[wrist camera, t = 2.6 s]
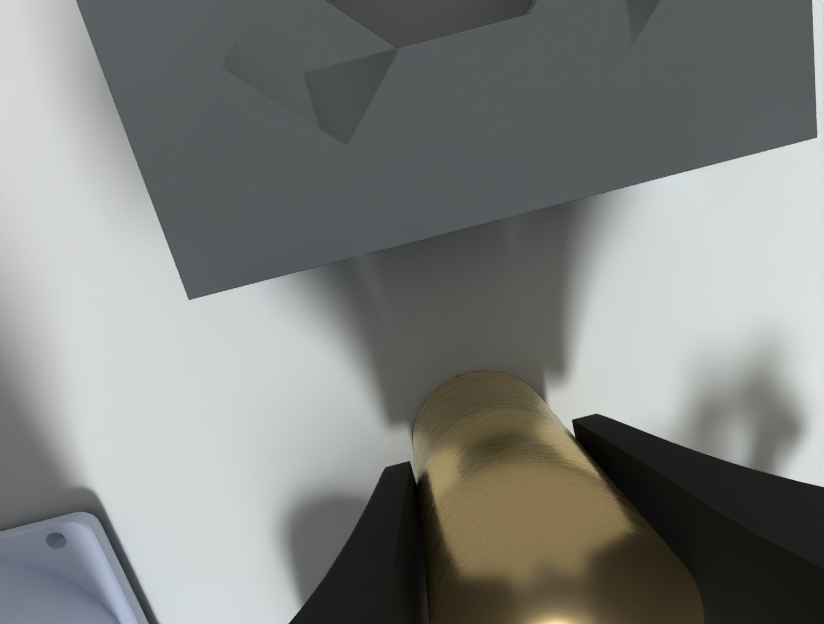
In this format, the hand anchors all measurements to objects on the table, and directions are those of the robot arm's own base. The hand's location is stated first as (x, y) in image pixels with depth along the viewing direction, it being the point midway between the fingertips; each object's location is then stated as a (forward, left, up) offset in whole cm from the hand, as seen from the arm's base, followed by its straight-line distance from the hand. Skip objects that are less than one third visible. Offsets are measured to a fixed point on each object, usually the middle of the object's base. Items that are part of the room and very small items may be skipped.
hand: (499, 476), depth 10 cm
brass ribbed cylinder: (0, 0, -2) cm, 2 cm away
